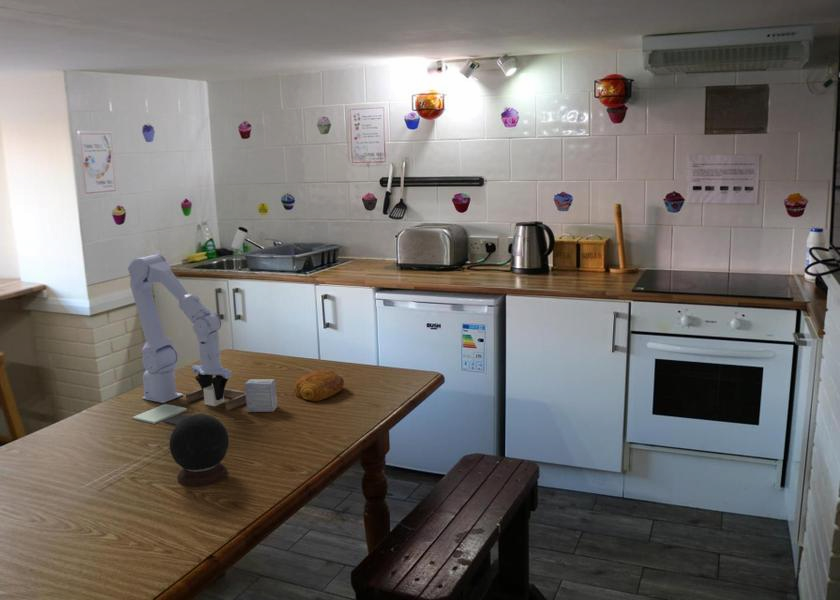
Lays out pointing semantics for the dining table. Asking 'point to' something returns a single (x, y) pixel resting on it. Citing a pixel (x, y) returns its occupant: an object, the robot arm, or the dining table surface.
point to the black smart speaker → (199, 450)
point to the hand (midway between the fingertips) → (214, 398)
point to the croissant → (318, 385)
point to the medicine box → (261, 395)
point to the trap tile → (175, 419)
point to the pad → (159, 413)
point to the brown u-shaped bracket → (236, 396)
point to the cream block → (211, 396)
